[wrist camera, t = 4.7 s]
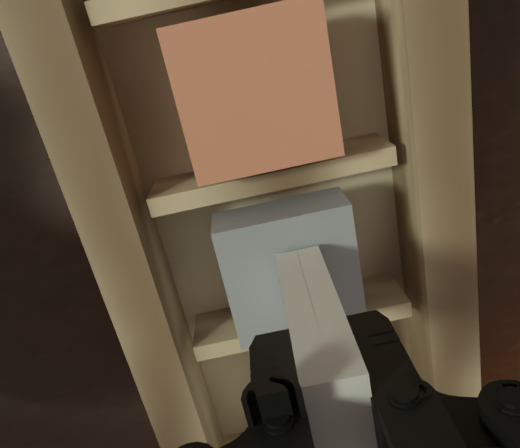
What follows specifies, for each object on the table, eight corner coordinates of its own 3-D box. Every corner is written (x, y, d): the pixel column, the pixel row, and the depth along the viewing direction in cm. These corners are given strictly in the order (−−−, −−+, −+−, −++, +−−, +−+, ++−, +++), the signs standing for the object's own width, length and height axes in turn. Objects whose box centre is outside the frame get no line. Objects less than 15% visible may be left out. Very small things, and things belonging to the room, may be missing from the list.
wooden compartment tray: (193, 442, 27) (187, 518, 22) (-46, -253, 15) (-149, -359, 11) (443, 390, 26) (483, 458, 22) (389, -354, 15) (451, -501, 11)
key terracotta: (201, 170, 17) (198, 187, 15) (164, 28, 15) (155, 29, 14) (332, 141, 17) (344, 155, 15) (310, -4, 15) (321, -9, 14)
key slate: (239, 320, 20) (241, 350, 18) (212, 213, 18) (210, 234, 16) (355, 296, 20) (368, 323, 18) (338, 186, 18) (351, 204, 16)
